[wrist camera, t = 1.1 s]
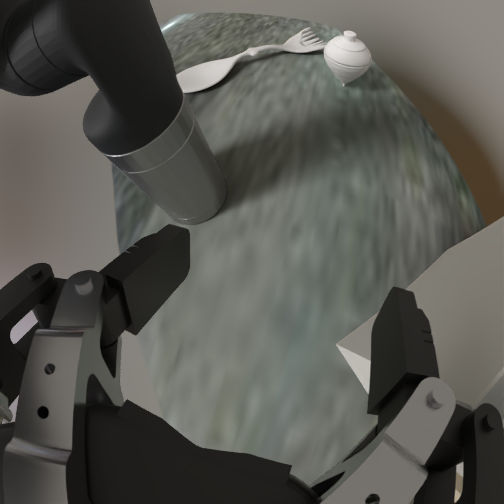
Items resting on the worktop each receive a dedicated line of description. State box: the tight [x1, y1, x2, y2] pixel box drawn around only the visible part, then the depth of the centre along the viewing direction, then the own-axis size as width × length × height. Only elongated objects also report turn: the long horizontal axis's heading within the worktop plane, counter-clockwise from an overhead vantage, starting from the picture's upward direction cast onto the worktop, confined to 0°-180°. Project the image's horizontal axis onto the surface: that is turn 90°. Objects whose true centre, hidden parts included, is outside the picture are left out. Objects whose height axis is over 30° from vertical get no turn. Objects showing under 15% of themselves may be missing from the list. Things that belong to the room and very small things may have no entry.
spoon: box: [176, 28, 328, 93], centre depth 42 cm, size 9×32×3 cm, turn 113°
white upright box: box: [336, 216, 504, 477], centre depth 15 cm, size 20×8×28 cm, turn 123°
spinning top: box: [324, 31, 371, 87], centre depth 33 cm, size 8×8×12 cm
